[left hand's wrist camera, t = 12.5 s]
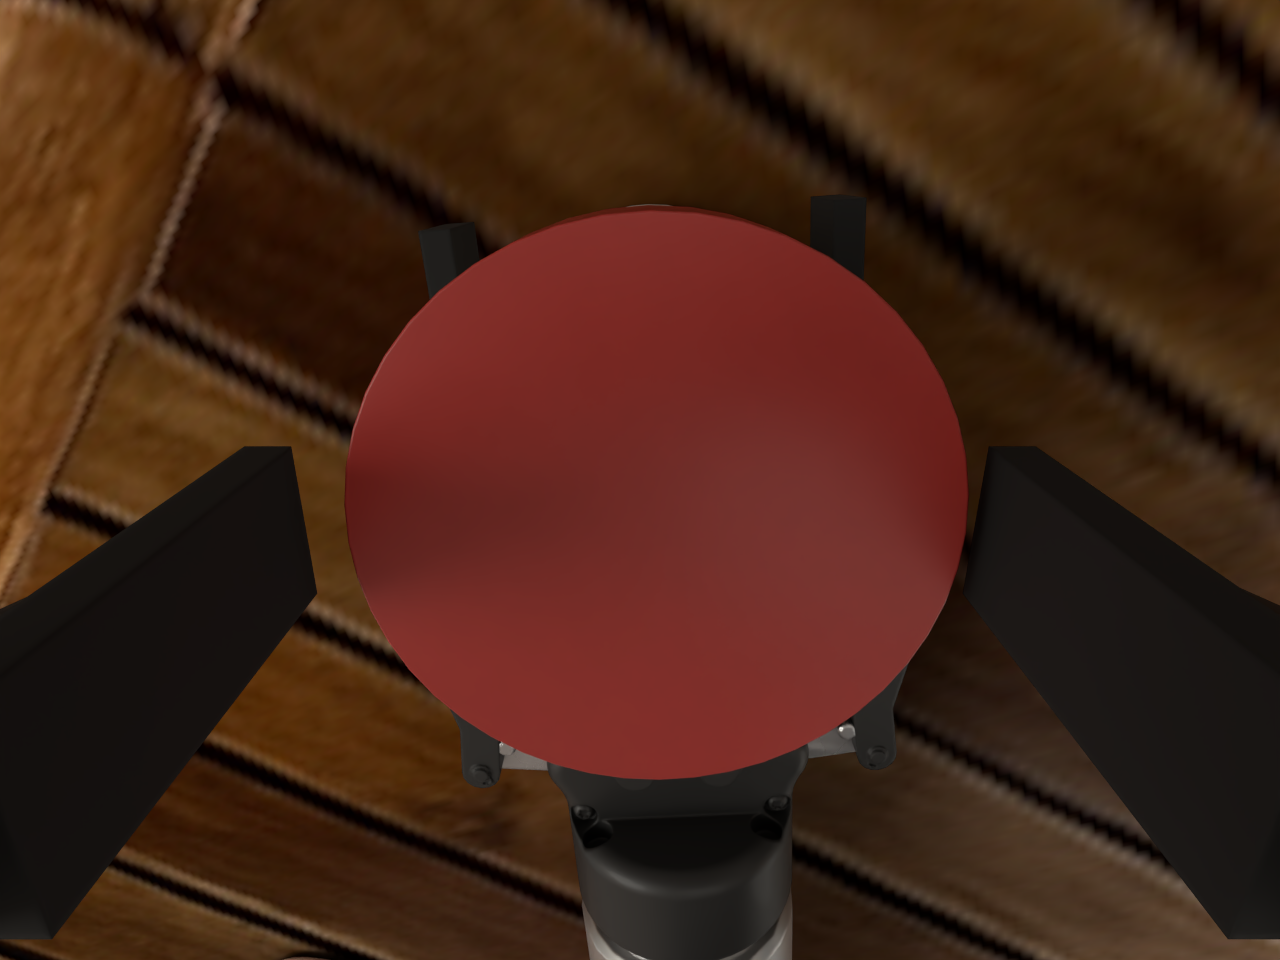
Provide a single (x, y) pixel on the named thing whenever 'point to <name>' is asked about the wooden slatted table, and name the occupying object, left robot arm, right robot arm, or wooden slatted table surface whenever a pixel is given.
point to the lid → (656, 493)
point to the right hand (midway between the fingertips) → (640, 212)
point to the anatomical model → (304, 958)
